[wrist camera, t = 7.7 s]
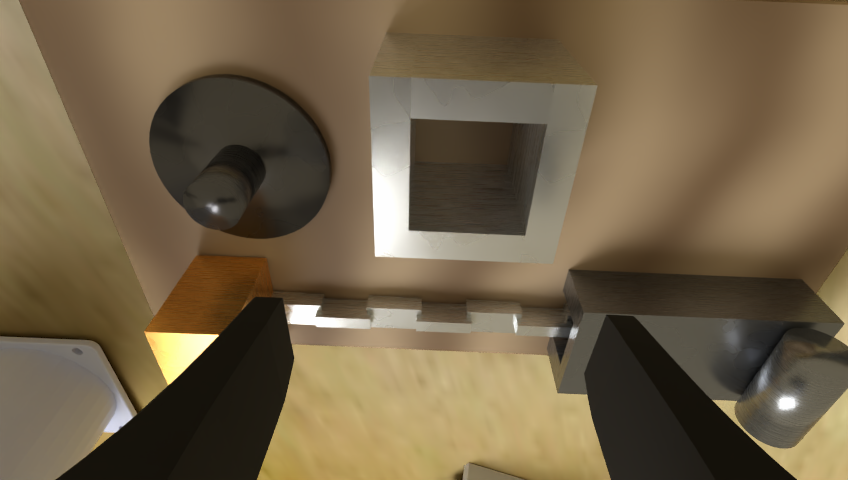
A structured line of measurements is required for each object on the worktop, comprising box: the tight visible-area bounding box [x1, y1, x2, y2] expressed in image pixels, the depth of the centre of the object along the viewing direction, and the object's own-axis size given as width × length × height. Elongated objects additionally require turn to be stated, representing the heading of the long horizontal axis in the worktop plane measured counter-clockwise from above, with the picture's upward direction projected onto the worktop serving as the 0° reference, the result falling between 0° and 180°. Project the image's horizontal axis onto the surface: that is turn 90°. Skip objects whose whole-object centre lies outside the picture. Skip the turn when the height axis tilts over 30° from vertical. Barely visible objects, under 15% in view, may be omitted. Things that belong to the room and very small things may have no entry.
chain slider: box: [144, 255, 573, 385], centre depth 20 cm, size 18×5×4 cm, turn 88°
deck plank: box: [19, 0, 848, 355], centre depth 19 cm, size 30×16×1 cm, turn 88°
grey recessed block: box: [369, 32, 598, 264], centre depth 14 cm, size 5×5×4 cm
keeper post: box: [149, 74, 332, 239], centre depth 16 cm, size 6×6×3 cm
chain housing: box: [547, 269, 848, 448], centre depth 20 cm, size 10×5×5 cm, turn 88°
